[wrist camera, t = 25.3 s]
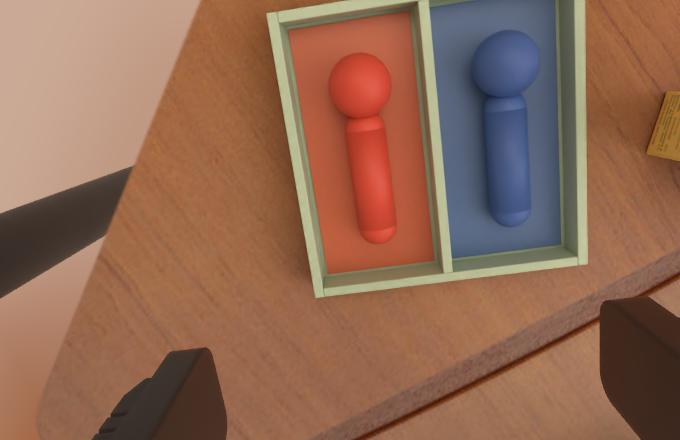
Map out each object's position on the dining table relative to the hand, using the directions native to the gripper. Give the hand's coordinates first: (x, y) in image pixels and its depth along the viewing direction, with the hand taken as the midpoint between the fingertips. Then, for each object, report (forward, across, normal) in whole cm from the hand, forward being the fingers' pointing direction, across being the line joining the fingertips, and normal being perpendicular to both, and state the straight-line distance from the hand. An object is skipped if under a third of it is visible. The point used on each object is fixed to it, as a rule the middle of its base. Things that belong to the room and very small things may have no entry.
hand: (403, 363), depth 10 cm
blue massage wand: (+21, -8, -3) cm, 23 cm away
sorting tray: (+22, -4, -2) cm, 23 cm away
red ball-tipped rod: (+21, 0, -3) cm, 22 cm away
